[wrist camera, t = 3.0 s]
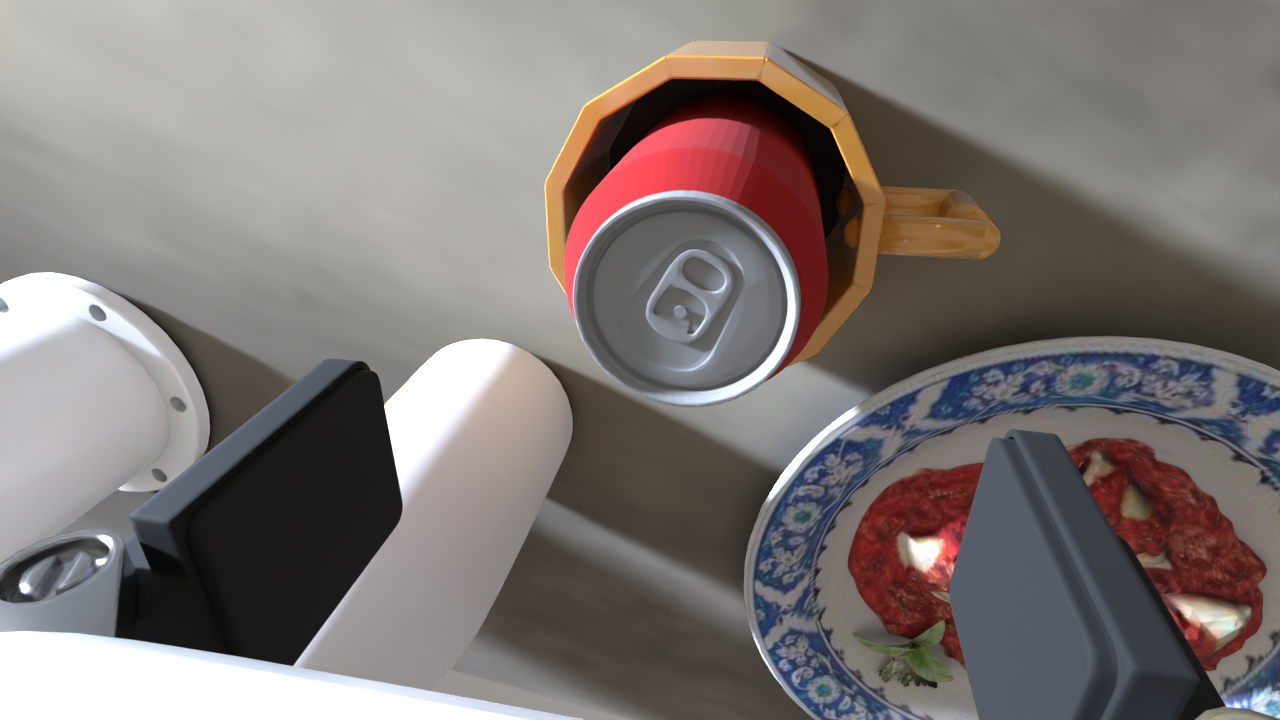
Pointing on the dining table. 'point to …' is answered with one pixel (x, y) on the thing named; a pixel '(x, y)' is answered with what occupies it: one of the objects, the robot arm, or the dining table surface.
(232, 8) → the dining table surface
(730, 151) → the beverage can
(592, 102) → the mug
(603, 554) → the dining table surface
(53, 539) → the robot arm
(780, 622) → the ceramic plate
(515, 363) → the milk bottle
